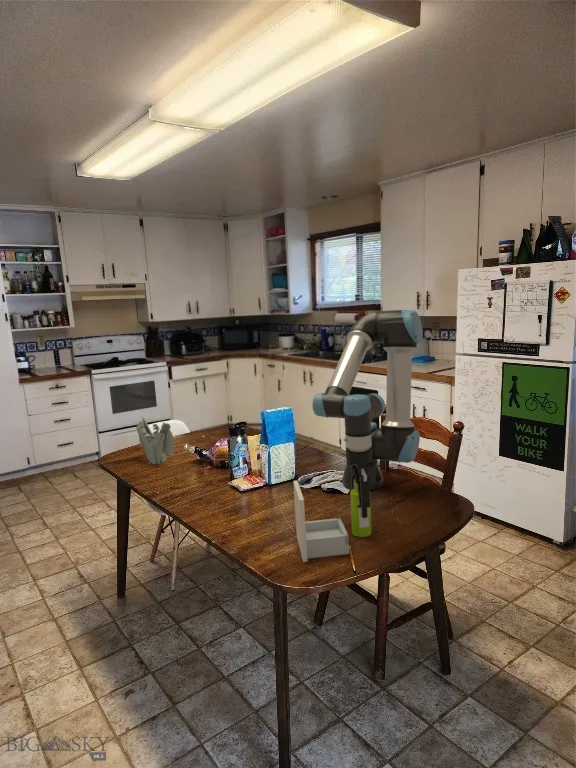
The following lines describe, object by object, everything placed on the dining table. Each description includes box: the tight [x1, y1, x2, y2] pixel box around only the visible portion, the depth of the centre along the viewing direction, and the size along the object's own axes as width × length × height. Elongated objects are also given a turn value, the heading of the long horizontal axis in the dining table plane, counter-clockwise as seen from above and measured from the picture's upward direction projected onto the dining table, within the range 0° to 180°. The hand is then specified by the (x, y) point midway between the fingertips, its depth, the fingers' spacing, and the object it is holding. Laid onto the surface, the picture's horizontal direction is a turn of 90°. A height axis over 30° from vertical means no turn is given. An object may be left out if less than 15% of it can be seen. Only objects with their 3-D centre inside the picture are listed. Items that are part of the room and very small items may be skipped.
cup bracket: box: [292, 480, 350, 563], centre depth 139 cm, size 13×14×18 cm
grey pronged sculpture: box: [135, 417, 175, 465], centre depth 224 cm, size 28×7×20 cm, turn 49°
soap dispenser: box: [349, 480, 372, 538], centre depth 147 cm, size 6×7×20 cm
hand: (361, 521), depth 147 cm, fingers closed on soap dispenser, 6 cm apart
